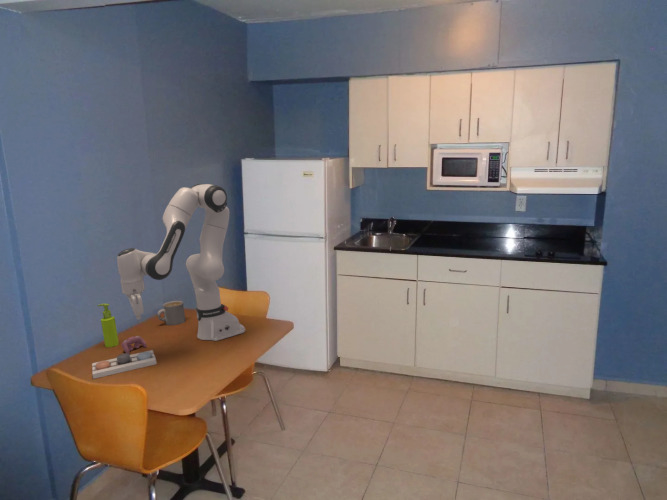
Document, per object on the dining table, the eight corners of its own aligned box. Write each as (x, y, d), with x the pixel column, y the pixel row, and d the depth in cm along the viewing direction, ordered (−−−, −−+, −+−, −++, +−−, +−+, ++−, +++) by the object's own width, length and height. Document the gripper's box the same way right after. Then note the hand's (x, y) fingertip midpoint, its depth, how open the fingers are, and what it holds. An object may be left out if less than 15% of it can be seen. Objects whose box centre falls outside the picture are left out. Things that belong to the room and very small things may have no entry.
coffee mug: (184, 317, 260) (181, 299, 258) (186, 322, 251) (184, 304, 249) (157, 322, 255) (155, 304, 253) (159, 327, 246) (156, 309, 244)
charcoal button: (130, 359, 205) (129, 352, 204) (131, 363, 201) (130, 356, 200) (117, 361, 203) (116, 355, 202) (118, 366, 198) (117, 359, 198)
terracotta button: (110, 366, 202) (108, 359, 201) (110, 370, 197) (109, 364, 197) (96, 369, 200) (95, 362, 199) (97, 373, 195) (95, 367, 195)
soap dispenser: (108, 342, 230) (102, 302, 226) (121, 342, 229) (115, 302, 225) (100, 347, 225) (93, 306, 221) (113, 347, 223) (106, 306, 219)
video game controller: (144, 348, 224) (138, 334, 224) (148, 346, 221) (142, 332, 221) (124, 356, 216) (118, 342, 217) (128, 354, 213) (122, 339, 214)
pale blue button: (150, 357, 209) (149, 350, 208) (151, 361, 204) (150, 354, 204) (138, 360, 207) (137, 353, 206) (139, 364, 202) (138, 357, 202)
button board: (153, 354, 213) (152, 350, 212) (156, 364, 202) (156, 359, 202) (92, 367, 202) (92, 363, 202) (93, 378, 192) (92, 374, 191)
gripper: (144, 291, 195) (149, 323, 198) (138, 280, 212) (143, 310, 215) (127, 294, 192) (133, 327, 195) (123, 283, 210) (128, 313, 213)
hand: (138, 318), depth 205 cm, fingers closed
